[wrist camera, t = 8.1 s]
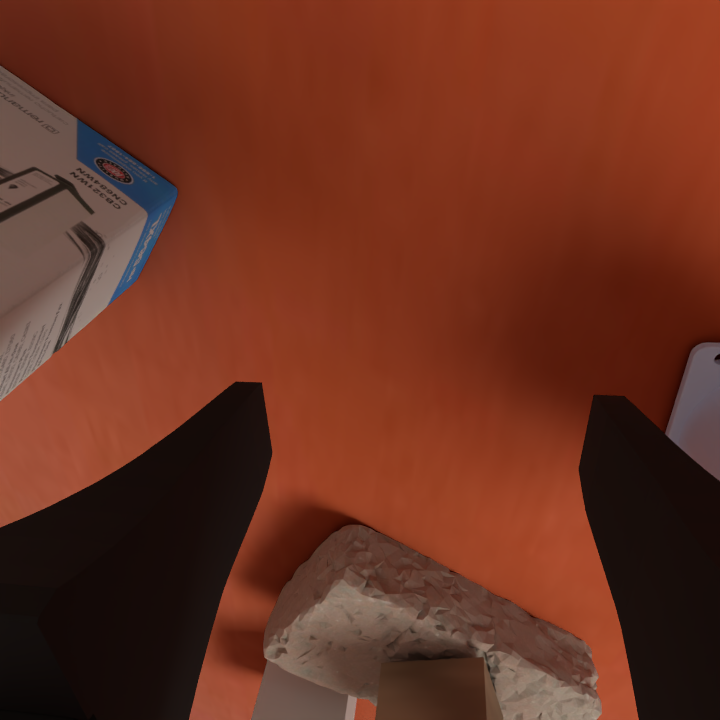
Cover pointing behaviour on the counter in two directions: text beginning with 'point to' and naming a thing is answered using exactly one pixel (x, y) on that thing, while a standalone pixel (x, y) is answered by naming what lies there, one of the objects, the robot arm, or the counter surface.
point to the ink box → (64, 226)
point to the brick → (420, 629)
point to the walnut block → (437, 691)
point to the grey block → (299, 699)
